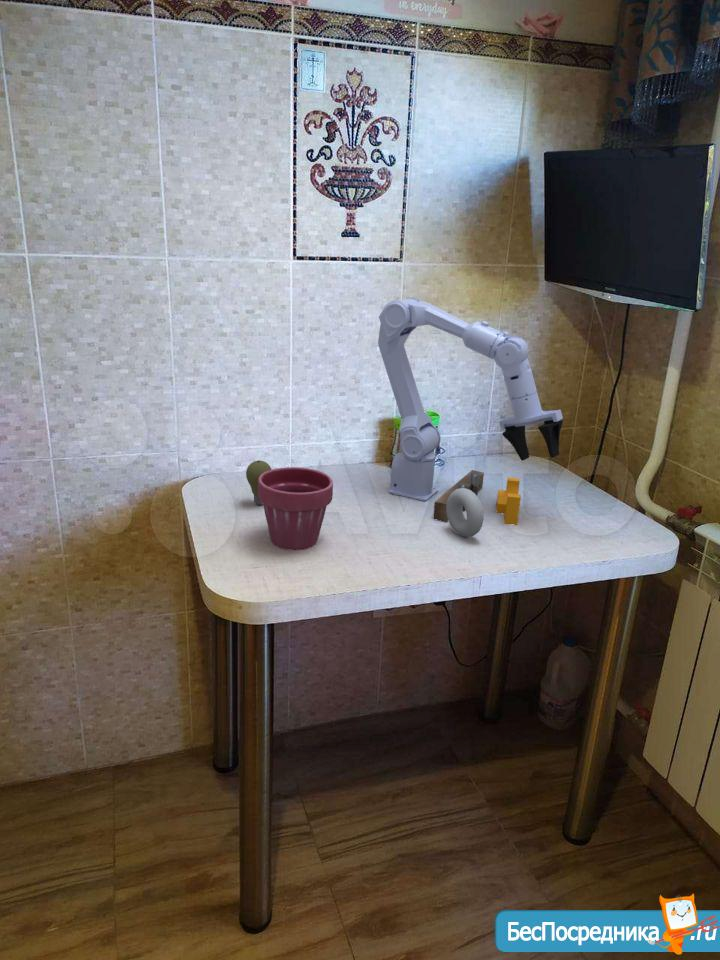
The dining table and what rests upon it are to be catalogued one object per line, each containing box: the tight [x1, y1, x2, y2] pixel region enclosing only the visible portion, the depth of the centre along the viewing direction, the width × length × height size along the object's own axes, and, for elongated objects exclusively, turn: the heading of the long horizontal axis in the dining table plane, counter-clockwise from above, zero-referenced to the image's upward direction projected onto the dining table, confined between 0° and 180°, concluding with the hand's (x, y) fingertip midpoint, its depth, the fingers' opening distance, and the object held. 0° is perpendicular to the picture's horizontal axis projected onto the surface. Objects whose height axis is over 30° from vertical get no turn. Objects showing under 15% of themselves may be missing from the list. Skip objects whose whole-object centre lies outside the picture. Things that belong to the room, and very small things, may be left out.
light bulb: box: [245, 459, 273, 506], centre depth 153 cm, size 6×6×10 cm
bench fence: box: [433, 469, 485, 523], centre depth 160 cm, size 4×24×6 cm, turn 153°
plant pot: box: [258, 466, 334, 551], centre depth 137 cm, size 14×14×13 cm
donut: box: [446, 488, 485, 538], centre depth 143 cm, size 10×3×10 cm, turn 30°
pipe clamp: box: [496, 477, 521, 526], centre depth 156 cm, size 12×4×6 cm, turn 169°
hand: (539, 457), depth 150 cm, fingers open, 7 cm apart
